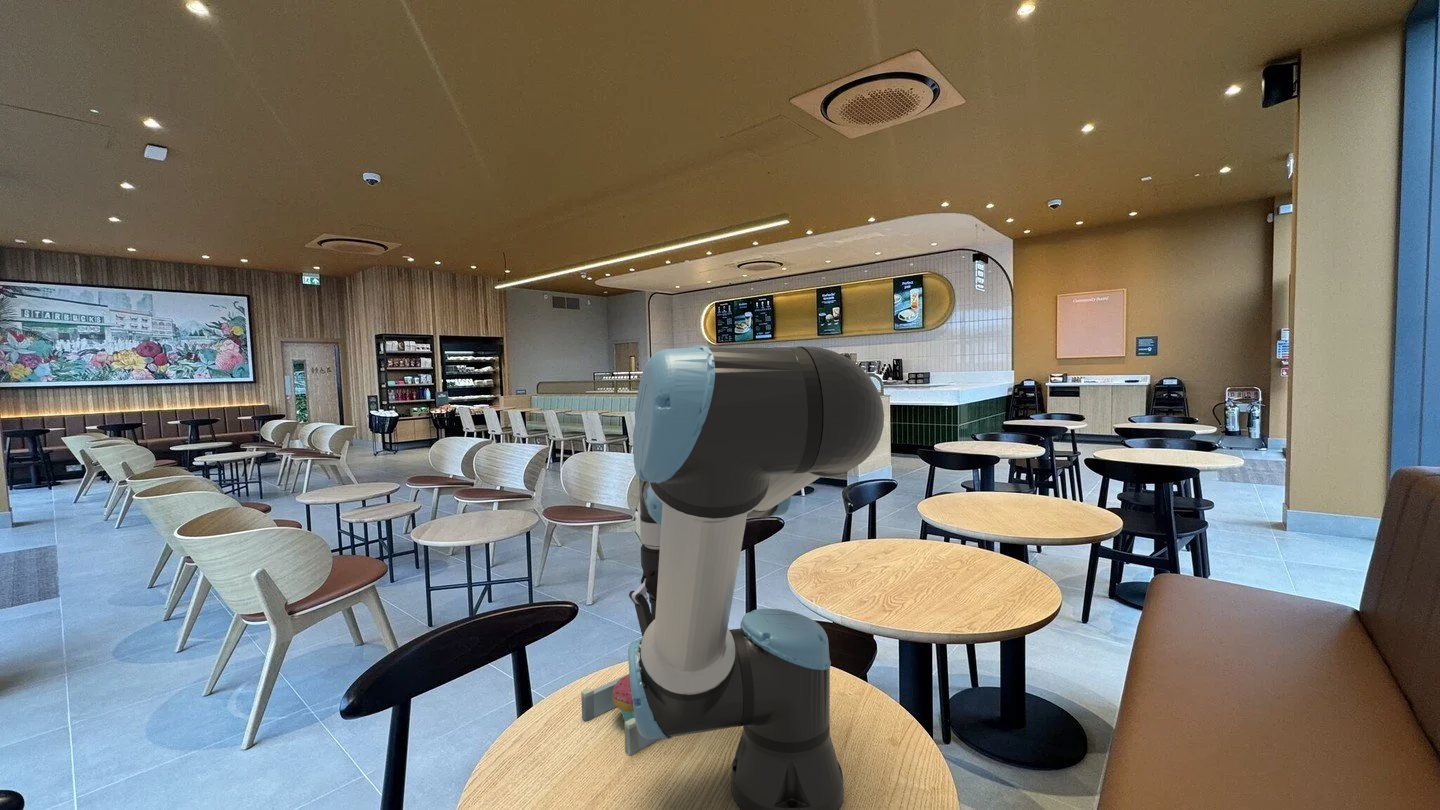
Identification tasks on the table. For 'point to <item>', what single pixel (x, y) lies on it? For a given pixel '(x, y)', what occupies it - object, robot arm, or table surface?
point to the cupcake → (624, 698)
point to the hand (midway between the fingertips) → (665, 679)
